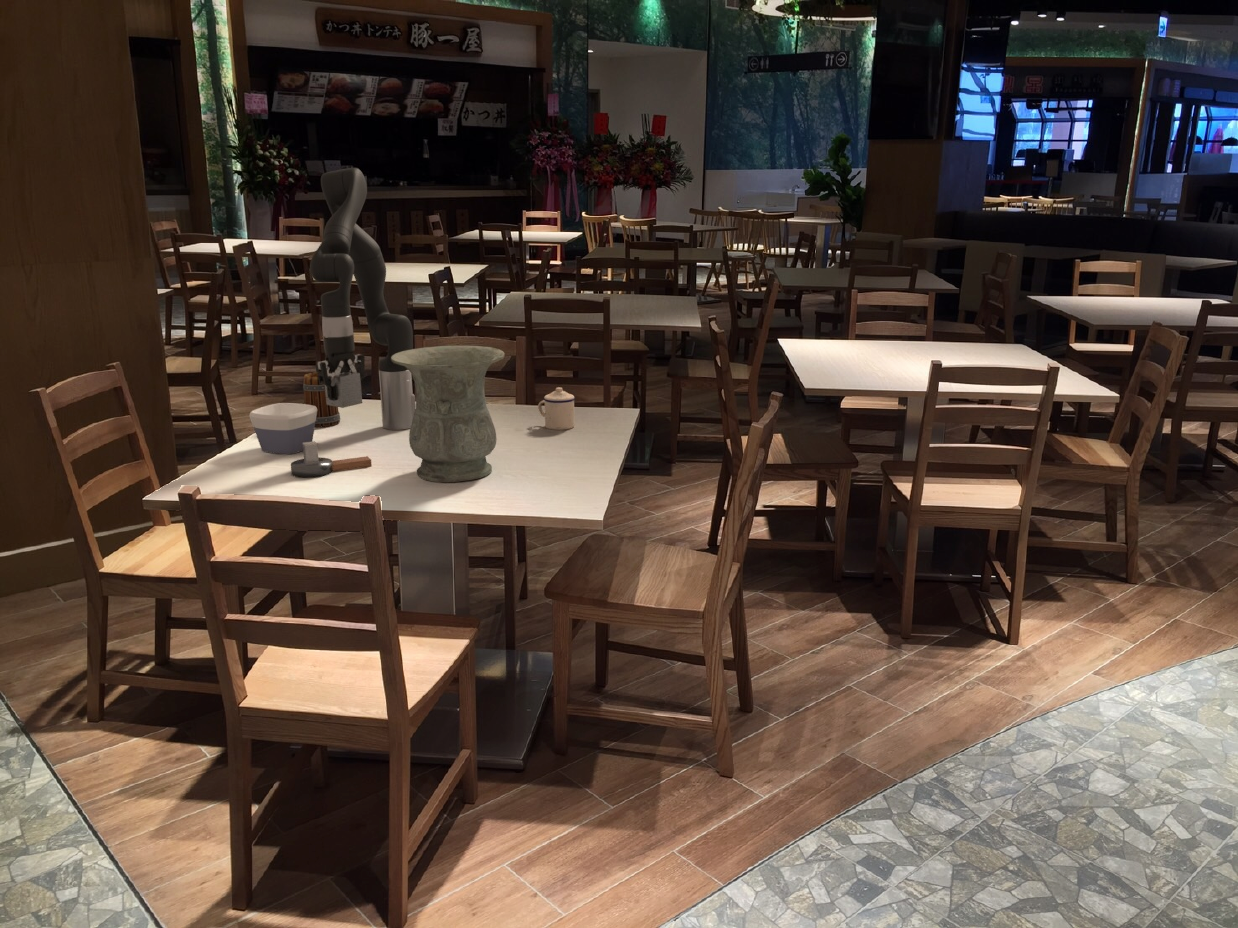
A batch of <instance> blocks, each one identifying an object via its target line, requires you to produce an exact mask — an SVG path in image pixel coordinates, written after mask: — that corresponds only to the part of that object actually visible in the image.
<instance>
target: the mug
mask: <svg viewBox="0 0 1238 928" xmlns="http://www.w3.org/2000/svg"><path fill="white" fill-rule="evenodd" d="M302 386H303V387H302V390H303V401H304V402H303V404H307V405H313V406H316V408H317V416H316V421H315V428H316V429H318V428H319V429H320V428H329V427H334V426H336V425H339V423H340V422H341V415H340V414H341V413H340V411H339V407H336V406H330V405H327V404H326V393H325V385H323V384H320V383H319V379H318V374H317V371H315V372H312V373H311V372H310V373H306V374H304V376H303V383H302ZM315 428H314V429H315Z"/></svg>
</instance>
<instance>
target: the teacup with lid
mask: <svg viewBox="0 0 1238 928" xmlns="http://www.w3.org/2000/svg"><path fill="white" fill-rule="evenodd" d="M575 398H576V397H575V396H574V395H573V394H571V393H568V392H567V391H565V390H563V387H556V388H555V390H554V391H552V392H550V393H549V394H546V395H545V396H544V397H543V400H541V401H539V403H538V404H537V410H538V412H539V414H540V416H542V417H544V424H545V425H544V426H545V428H547V429H548V430H553V431H564V430H565V431H566V430H570V429H572V428H574V427H575ZM543 404H544V411H543V407H542V406H543Z"/></svg>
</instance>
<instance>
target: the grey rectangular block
mask: <svg viewBox="0 0 1238 928" xmlns="http://www.w3.org/2000/svg"><path fill="white" fill-rule="evenodd" d="M332 374H334V373H333V372H332ZM331 379H332V377H330V381H331ZM335 387H336V398H337V400H335V401H332V400H330V399H329V398H328V394H327V386H326V385H325V393H326V404H327V405H330V406H336V407H338V408H341V409H344V408H347V407H351V406H356V405H360V404H363V397H362V382H361V378H360V373H357V372H355V373H350V372H344V373H342V374H339V376H336V377H335Z"/></svg>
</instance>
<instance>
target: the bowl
mask: <svg viewBox="0 0 1238 928" xmlns="http://www.w3.org/2000/svg"><path fill="white" fill-rule="evenodd" d="M316 416H317V408H316V406H313V405H307V404H304V403H295V402H294V403H293V402H291V403H289V402H281V403H280V402H278V403H274V404H273V403H272V404H268V405H264V406H262V407H258V408H255V409H253V410H251V411H250V412H249V419H250V422H251V425H252V428H253V430H254V433H255V435H256V438H257V440H258V443H259V446H260V449H261V451H262V452H264V453H269V454H276V455H293V454H296V453H300V452H303V444H302V443H305V442H313V441H314V434H315V421H316Z"/></svg>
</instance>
